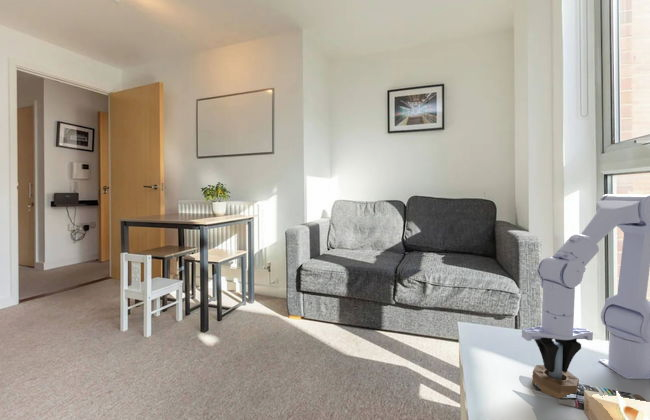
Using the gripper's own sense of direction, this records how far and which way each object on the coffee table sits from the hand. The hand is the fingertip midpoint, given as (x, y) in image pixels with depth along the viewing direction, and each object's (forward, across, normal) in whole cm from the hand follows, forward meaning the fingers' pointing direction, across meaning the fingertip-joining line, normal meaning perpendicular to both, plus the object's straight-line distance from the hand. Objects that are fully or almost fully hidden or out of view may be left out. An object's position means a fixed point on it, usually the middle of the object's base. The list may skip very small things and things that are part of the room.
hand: (555, 369), depth 71 cm
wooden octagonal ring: (+4, 0, 0) cm, 4 cm away
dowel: (+2, 0, 0) cm, 2 cm away
